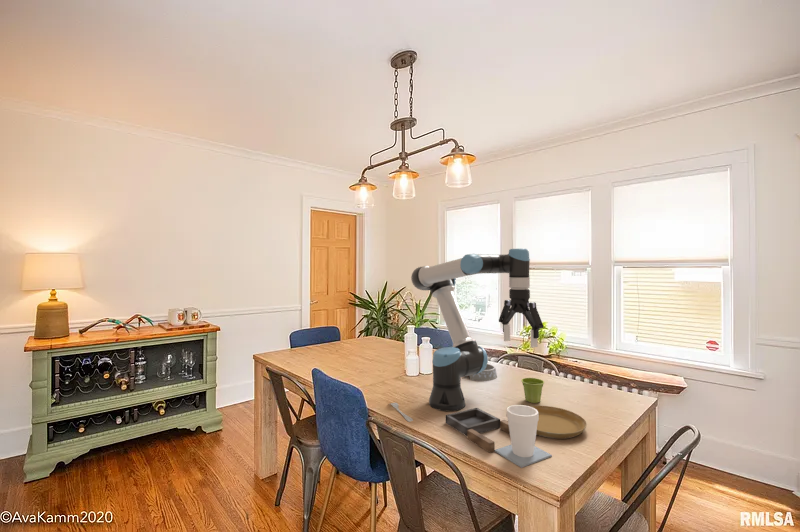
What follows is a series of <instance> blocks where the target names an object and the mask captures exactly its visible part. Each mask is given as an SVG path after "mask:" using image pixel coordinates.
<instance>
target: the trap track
mask: <svg viewBox="0 0 800 532" xmlns="http://www.w3.org/2000/svg"><path fill="white" fill-rule="evenodd" d="M445 424H446V425H448V426H449V427H450V428H453V429H454V430H455V431H457V432H459V433H461V434H462V435H464V436H465V437H467V440H469V441H470V442H471V443H473V444H475V446H478V447H479V448H481V449H483V450H485V452H487V453H489V454H491V453H494V452H495V450H496V449H495V444H496V443H495V441H494V440H492V439H491V438H489V437H487V436H485V435H483V434H484V433H487V432H490V431H493V430H496V429H499V430H502V431H503V432H504V433H507V435H510V432H509V425H508V420H506V419H503V420H501V419H500V418H498V417H496V416H495V415H493V414H490V413H488V412H486V411H484V410H483V409H481V408H479V407H474V408H469V409H466V410H461V411H460V410H459V411H457V412H456V411H455V412H452V413H448V414H445Z"/></svg>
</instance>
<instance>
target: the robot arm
mask: <svg viewBox="0 0 800 532" xmlns="http://www.w3.org/2000/svg"><path fill="white" fill-rule="evenodd" d="M530 262H531V259H530V250H529V249H528V248H510V249H508V254H481V253H480V254H479V253H478V254H477V253H469V254H465V255H464V256H462V257H461V258H457V259H453V260H450V261H446V262H442V263H439V264H435V265H431V266H429V265H423V266H418V267H416V268H415V269H414V270H413V272H412V273H411V277H410V278H411V283H412V285H413V286H414V287H415V288H416V289H418V290H420V291H430V293H431V297H434V298H435V299H436V300H437V303H438V305H439V308H440V312H441V313H442V314H441V315H442V317H443V320H444V322H445V324H446V328H447V331H448V334H449V336H450V338H451V342H452V344H453V345H452V346H448V347H441V348H438V349H436V350H435V351H434V352H433V355H432V389H431V392H430V395H429V398H428V399H429V400H428V405H429V406H430V408H433V409H435V410H438V411H442V412H443V411H444V412H454V411H455V412H456V411H460V410H462V409H464V408H465V406H466V399H465V396H464V393H463V390H462V387H461V378H464V377H468V376H469V375H473V374H474V375H475V374H477V373H480V372H482V371H484V370H485V368H486V366H487V364H489V363H488V361H489V359H488V354H487V351H486V350H485V348H483V347H482V346H480V345H478V342H477V341H476V339H473V338H472V337H471V334H470V332H469V329H468V327H467V324H466V322H465V319H464V316H463V314H462V312H461V309H460V307H459V304H458V302H457V299H456V296H455V294H454V292H455V291H454V290H455V285H456V280H457V279H458V278H463V277H468V276H473V275H477V274H478V275H479V274H480V275H481V274H508V275H509V276H508V279H509V280H508V284H509V285H508V287H509V288H510V289H509V291H508V293H509V299H504V302H503V303H504V304H503V306H502V307H503V308H502V310H501V312H500V315H499V319H498V322H499V323H501V324H502V331H503V342H508V341H511V324H510V321H511V320H512V319H513V317H514V316H515V314H516V313H518V314H522V315H524V316H523V317H525V319H526V320H527V322H528V324H529V325H530V327H531V329H530V348H538V347H539V345H538V343H539V342H538V341H539V340H538V339H539V338H540V337H539V336H540V330H541V329H544V324H543V321H542V319H541V316H540V312H539V311H538V308H537V303H536V301H535V302H534V301H533V302H532V301H531V302H530V301H529V300H530V298H531V290H530V289H529V288H530V287H531V285H530V282H531V281H530V264H531V263H530ZM469 377H470V376H469Z"/></svg>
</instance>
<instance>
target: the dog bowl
mask: <svg viewBox="0 0 800 532" xmlns="http://www.w3.org/2000/svg"><path fill="white" fill-rule="evenodd" d="M497 378H498V373H497V370H496V366H494V365H493V364H490V363H487V366H486V368H485V370H484V371H482V372H480V373H477V374H475V375H474V374H473V375H469V379H470V380H471V381H478V382H479V381H481V382H489V381H493V380H496V379H497Z"/></svg>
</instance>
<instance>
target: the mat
mask: <svg viewBox="0 0 800 532" xmlns="http://www.w3.org/2000/svg"><path fill="white" fill-rule="evenodd" d="M494 452H495V453H497V454H499V456H501V457H503V458H504V459H506V460H508V461H509V462H511V463H513V464H514V465H516V466H518V467H520V468H525V467H527V466H531V465H533V464H535V463H538V462H541V461H543V460H545V459H549V458H552V456H553V455H552V454H550V453H549V452H547V451H545V450H543V449H541V448H539V447H538V446H536V445H535V448H534V454H533V456H531V457H520V456H517V455H515V454H514V453H513V451H512V446H511V444H508V445H506V446H502V447H498V448H496V449H495V451H494Z"/></svg>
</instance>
